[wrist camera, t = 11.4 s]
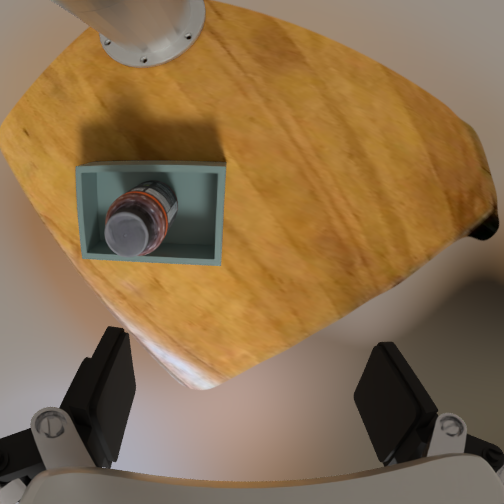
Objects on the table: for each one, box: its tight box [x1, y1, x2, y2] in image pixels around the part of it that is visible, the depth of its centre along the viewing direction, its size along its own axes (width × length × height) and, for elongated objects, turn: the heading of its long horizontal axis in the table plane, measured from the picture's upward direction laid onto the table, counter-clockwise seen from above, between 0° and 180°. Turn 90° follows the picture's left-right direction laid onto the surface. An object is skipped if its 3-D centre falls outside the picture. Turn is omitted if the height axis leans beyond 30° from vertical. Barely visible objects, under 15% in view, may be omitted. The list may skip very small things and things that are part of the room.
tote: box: [76, 160, 226, 266], centre depth 33 cm, size 10×16×5 cm, turn 86°
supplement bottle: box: [104, 180, 178, 257], centre depth 29 cm, size 6×6×11 cm
